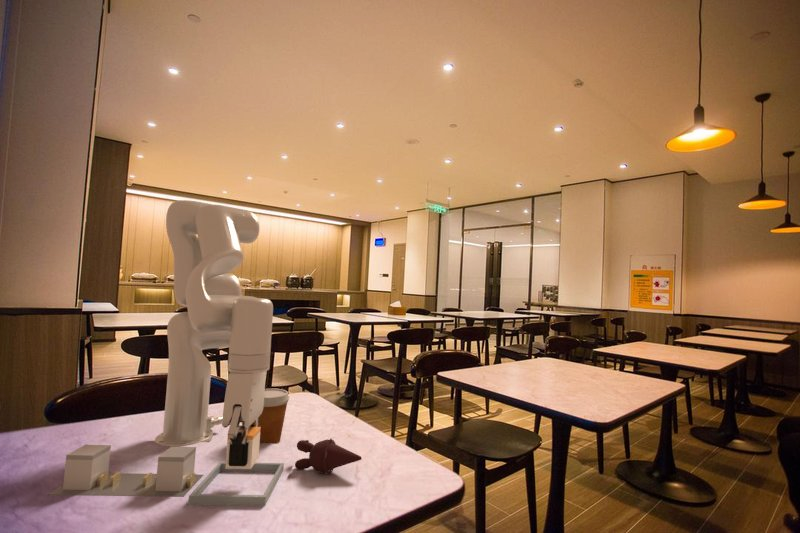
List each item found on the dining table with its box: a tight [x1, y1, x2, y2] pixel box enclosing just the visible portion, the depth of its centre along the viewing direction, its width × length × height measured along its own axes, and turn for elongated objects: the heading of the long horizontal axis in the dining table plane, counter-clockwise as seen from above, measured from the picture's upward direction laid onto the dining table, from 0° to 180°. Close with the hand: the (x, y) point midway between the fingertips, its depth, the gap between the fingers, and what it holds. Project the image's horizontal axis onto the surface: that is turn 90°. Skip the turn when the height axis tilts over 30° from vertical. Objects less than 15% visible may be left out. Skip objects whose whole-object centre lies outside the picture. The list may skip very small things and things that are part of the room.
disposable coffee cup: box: [258, 388, 291, 445], centre depth 96 cm, size 10×10×12 cm
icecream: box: [294, 438, 362, 475], centre depth 82 cm, size 7×7×15 cm
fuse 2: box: [155, 446, 197, 491], centre depth 72 cm, size 5×5×6 cm
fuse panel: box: [47, 471, 204, 498], centre depth 71 cm, size 8×23×3 cm, turn 94°
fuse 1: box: [62, 444, 112, 490], centre depth 71 cm, size 5×5×6 cm
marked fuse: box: [225, 427, 261, 469], centre depth 73 cm, size 5×5×6 cm
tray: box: [187, 461, 285, 507], centre depth 72 cm, size 13×13×2 cm
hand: (242, 458), depth 72 cm, fingers closed on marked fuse, 4 cm apart
